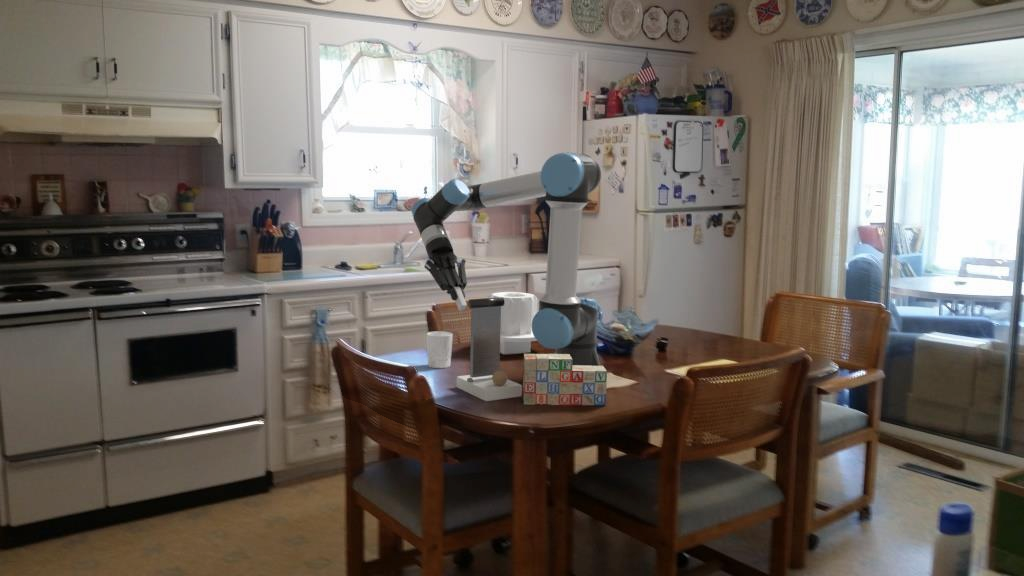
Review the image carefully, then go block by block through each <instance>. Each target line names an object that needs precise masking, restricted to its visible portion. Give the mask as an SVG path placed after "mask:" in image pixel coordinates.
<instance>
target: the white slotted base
mask: <svg viewBox="0 0 1024 576" xmlns="http://www.w3.org/2000/svg"><path fill="white" fill-rule="evenodd" d="M456 388H458V389H459V390H462V391H464V392H466V393H468V394H470V395H472V396H474V397H476V398H478V399H480V400H482V401H484V402H491V401H497V400H498V401H499V400H504V399H511V398H519V397H523V384H520V383H518V382H516V381H512V380H510V379H508V375H507V373H506V372H505V371H503V370H500V369H499V371H496V372H495V373H494V374H493V375H490V376H482V377H474V378H472V377H470V374H468V375H467V374H466V375H459V376H458V375H457V376H456Z"/></svg>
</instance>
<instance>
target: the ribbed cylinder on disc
mask: <svg viewBox="0 0 1024 576" xmlns="http://www.w3.org/2000/svg"><path fill="white" fill-rule="evenodd" d="M501 297H502V298H504V301H505V303H504V306H501V328H500V354H502V355H518V354H519V355H520V354H531V348H532V342H536V341H537V340H536V339H535V337H534V335H533V332H532V320H533V318H534V316H535V315H536V313H537V312H538V297H537V296H536V295H534V294H533V293H528V292H520V291H518V292H517V291H501V292H493V293H489V295H488V297H487V298H501ZM537 342H538V341H537Z"/></svg>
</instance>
